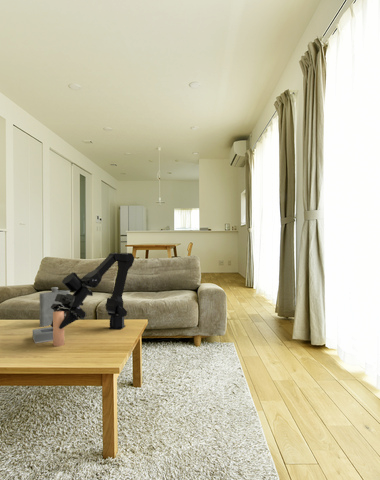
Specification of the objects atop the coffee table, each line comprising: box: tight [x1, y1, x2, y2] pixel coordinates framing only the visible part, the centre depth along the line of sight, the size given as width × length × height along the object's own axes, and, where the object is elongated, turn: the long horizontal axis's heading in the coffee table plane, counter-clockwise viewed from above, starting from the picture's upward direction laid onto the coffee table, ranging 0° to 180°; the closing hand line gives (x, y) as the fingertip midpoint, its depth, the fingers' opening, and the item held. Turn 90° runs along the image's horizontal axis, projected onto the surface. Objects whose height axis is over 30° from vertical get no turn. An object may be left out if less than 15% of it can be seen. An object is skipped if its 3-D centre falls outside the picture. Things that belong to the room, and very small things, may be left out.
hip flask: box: [39, 286, 71, 328], centre depth 171 cm, size 16×4×20 cm, turn 132°
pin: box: [52, 311, 65, 347], centre depth 133 cm, size 4×4×14 cm
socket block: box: [32, 326, 53, 344], centre depth 143 cm, size 12×12×4 cm
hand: (55, 327), depth 132 cm, fingers open, 6 cm apart
